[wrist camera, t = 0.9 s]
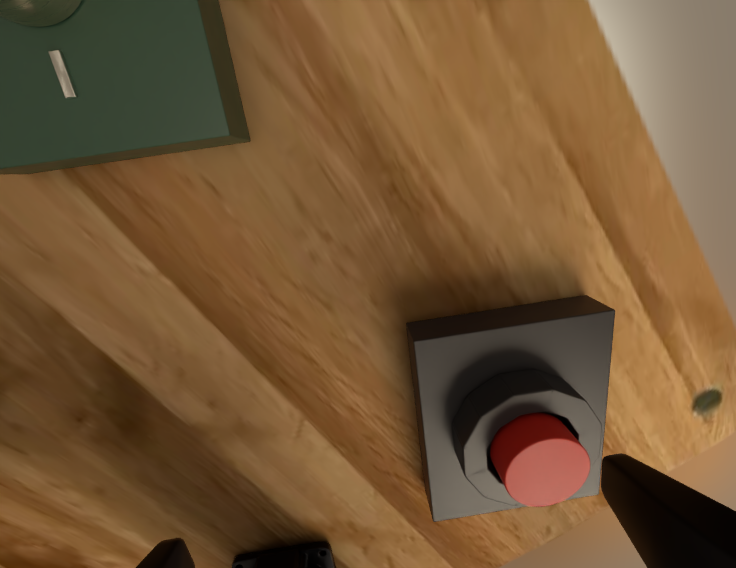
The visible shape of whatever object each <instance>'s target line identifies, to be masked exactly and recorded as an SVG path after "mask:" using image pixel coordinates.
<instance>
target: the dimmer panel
mask: <svg viewBox="0 0 736 568" xmlns="http://www.w3.org/2000/svg"><path fill="white" fill-rule="evenodd" d="M245 142H250V137H249V133H248V128H247V124H246V120H245V115H244V111H243V106H242V102H241V98H240V93H239V89H238V84H237V80H236V76H235V71H234V67H233V62H232V58H231V54H230V49H229V45H228V41H227V36H226V32H225V27H224V23H223V19H222V14H221V10H220V5H219V1H218V0H81V2H80V4H79V6H78V7H77V8H76V10H75V11H74V12H73V13H72V14H71V15H70V16H69V17H68V18H66V19H65V20H63V21H61V22H59V23H57V24H54V25H50V26H43V27H33V26H26V25H21V24H18V23H15V22H12V21H10V20H7V19H5V18H3V17H1V16H0V174H31V173H38V172H45V171H52V170H58V169H65V168H72V167H79V166H86V165H93V164H100V163H107V162H114V161H121V160H127V159H134V158H141V157H148V156H155V155H162V154H169V153H176V152H183V151H190V150H196V149H203V148H210V147H217V146H224V145H231V144H238V143H245Z"/></svg>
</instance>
